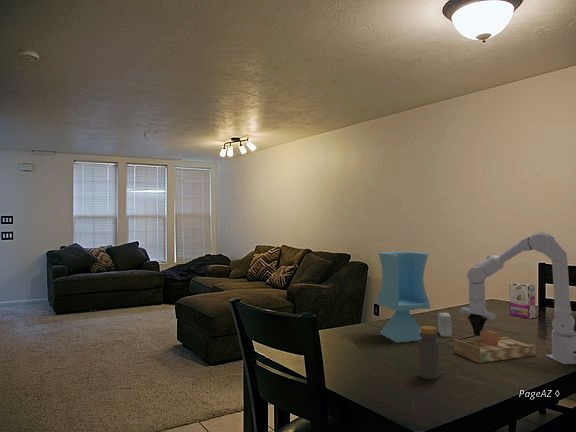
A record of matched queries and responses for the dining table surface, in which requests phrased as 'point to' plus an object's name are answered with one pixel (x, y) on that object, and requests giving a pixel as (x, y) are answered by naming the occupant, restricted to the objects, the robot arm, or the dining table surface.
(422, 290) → the blue pedestal chair
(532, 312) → the candy bar box
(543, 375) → the dining table surface
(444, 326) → the medicine box
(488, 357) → the trap tray
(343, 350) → the dining table surface
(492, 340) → the brick block
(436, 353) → the bottle
